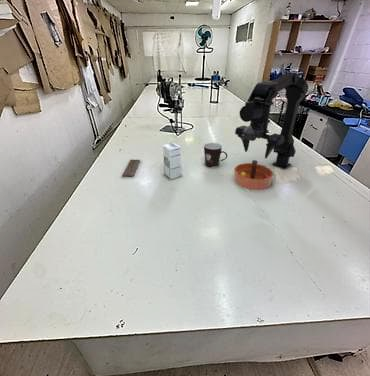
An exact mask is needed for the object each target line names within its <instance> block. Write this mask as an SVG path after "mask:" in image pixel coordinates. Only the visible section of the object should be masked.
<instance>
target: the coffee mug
mask: <svg viewBox="0 0 370 376" xmlns="http://www.w3.org/2000/svg"><path fill="white" fill-rule="evenodd" d="M222 149H223V145H222V144H220V143H218V142H207V143H204V144H203V151H204V166H205V167H207V168H210V169H211V168H214V167H218V166H219V163H221V162H224V161H225V160H226V159H227V158H228V153H227V152H226V151H224V150H222ZM222 153H224V155H225V157H224V158H223V159H221V154H222Z"/></svg>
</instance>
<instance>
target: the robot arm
mask: <svg viewBox="0 0 370 376" xmlns="http://www.w3.org/2000/svg"><path fill="white" fill-rule="evenodd" d="M282 90H285V92H284V93H285V94H284V96H285V99H286V101H287V103H286V108H285V111H284V116H283V121H282V126H281V130H280V133H273V134H268V133H269V129H268V128H269V124H270V123H271V119H270V113H271V107H272V106H274V101H273V100H274V99H275V98H276V97H277V96H278V93H279V92H281V91H282ZM308 92H309V85H308V82H307V80H305V79H304V78H303V77H301V76H300V74H299V73H297V72H285V73H284V74H283V75H281V76H279V77H277V78H274V79H273V80H271V81H261V82H257V83H256V84H255V86H254V87H253V89H252V91H251V93H250V95H249V97H248V99H247V101H246V102H245V104H244V106H242V107H241V108H240V109H239V112H238V113H239V118H240V119H241V121H243V122H245V123H248V122H249V123H250V124H249V125H240V126H237V127H236V128H235V130H234V134H235V135H237V138H240V139H241V142H242V145H243V149H244V152H245V153H246V152H248V151H249V146H250V141H251V142H254V141H256V139H263V140H266V142H267V143H266V144H265V146H266V149H265V153H264V154H265V155H264V159H268V157H269V156H270V154H271V153H272V151H273V153H275V154H276V159H275V162H273V163H272V165H273V166H275V167H278V168H280V169H284V170H286V169H287V168H289V167H290V166H292V164H291V163H289V161H290V158H294V157H295V154H296V151H297V150H296V148H295V145H294V144H295V140H294V136H293V132H294V127H295V123H296V119H297V116H298V115H297V114H298V111H299V106H300V103H301V102H302V101H303V100H304V99H305V98H306V96H307V93H308Z"/></svg>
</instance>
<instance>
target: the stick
mask: <svg viewBox="0 0 370 376" xmlns="http://www.w3.org/2000/svg"><path fill="white" fill-rule="evenodd" d="M251 163H252V168H251V175H250V178H251V179H255V174H256V168H257V164H258V160H256V159H253V160H252V161H251Z"/></svg>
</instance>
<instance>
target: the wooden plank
mask: <svg viewBox="0 0 370 376" xmlns="http://www.w3.org/2000/svg"><path fill="white" fill-rule="evenodd" d="M140 162H141V159H132V158H131V159H130V160H129V161H128V164H127V166H126V168H125V169H124V170H123V173H122V176H123V177H134V176H135V174H136V171H137V169H138V166H139V164H140Z"/></svg>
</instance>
